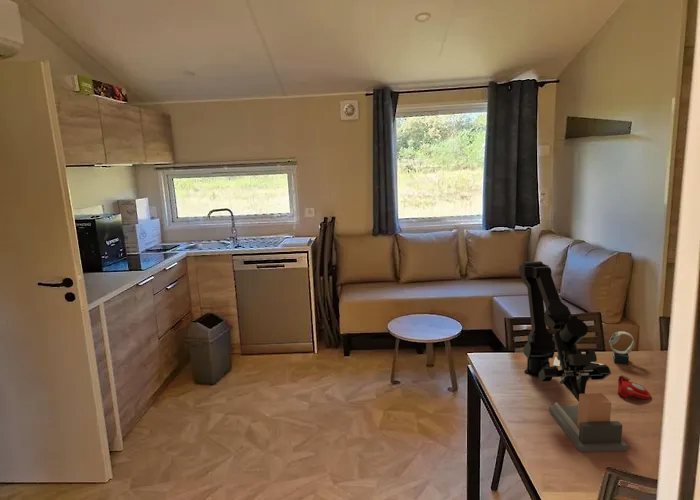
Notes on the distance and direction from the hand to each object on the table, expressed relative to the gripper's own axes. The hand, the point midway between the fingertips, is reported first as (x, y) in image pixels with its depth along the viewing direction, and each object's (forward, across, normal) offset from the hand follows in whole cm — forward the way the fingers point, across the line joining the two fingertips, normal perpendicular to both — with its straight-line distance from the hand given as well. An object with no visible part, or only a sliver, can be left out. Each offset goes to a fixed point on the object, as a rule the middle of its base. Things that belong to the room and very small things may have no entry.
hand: (582, 403), depth 135 cm
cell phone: (-21, +16, +32) cm, 41 cm away
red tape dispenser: (-7, +24, +17) cm, 31 cm away
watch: (-22, +32, +33) cm, 51 cm away
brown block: (+8, 0, -1) cm, 8 cm away
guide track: (+6, 0, +3) cm, 7 cm away
